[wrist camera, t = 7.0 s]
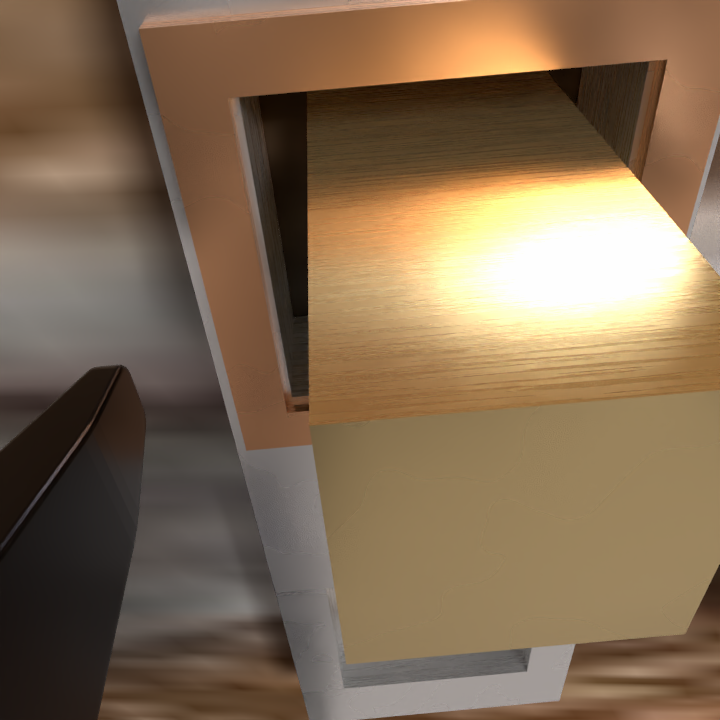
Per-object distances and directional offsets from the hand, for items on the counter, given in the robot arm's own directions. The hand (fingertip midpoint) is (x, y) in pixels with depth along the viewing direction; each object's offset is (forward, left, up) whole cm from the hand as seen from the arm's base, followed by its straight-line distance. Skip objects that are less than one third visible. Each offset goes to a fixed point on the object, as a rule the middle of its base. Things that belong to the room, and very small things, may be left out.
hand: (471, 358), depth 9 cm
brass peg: (0, 0, -5) cm, 5 cm away
